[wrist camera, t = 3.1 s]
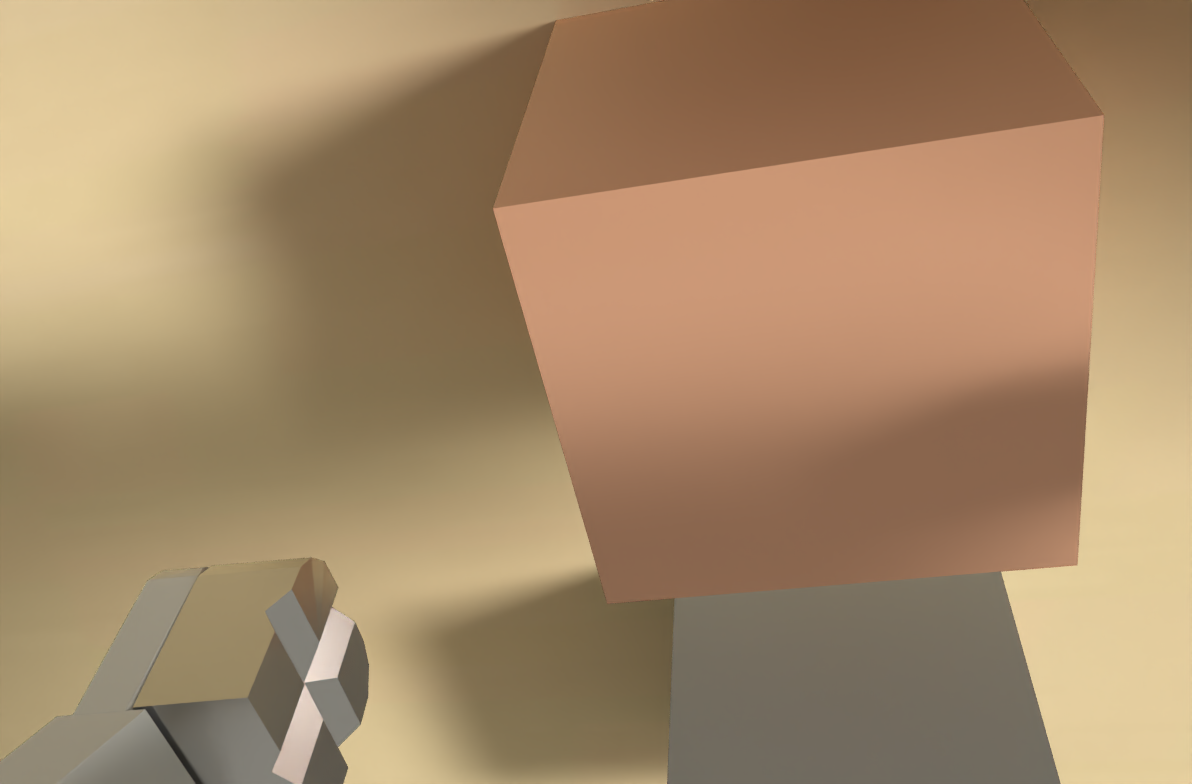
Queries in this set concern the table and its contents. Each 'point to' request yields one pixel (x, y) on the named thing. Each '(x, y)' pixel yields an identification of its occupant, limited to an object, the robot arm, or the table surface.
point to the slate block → (855, 687)
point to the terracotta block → (810, 288)
